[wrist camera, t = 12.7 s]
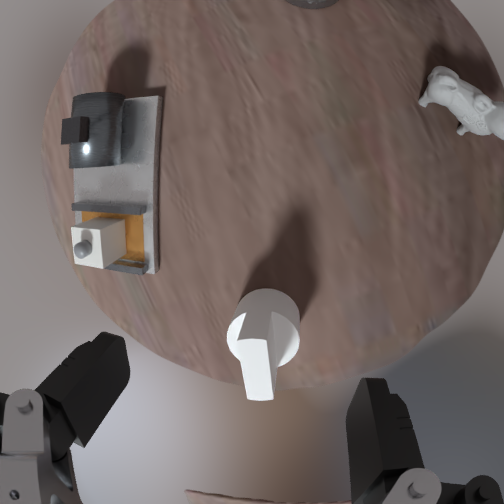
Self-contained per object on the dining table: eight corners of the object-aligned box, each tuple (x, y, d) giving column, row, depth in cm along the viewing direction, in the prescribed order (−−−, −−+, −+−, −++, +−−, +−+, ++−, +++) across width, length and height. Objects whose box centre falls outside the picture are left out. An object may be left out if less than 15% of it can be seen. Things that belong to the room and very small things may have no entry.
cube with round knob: (97, 216, 39) (63, 229, 32) (124, 219, 38) (92, 233, 31) (99, 249, 40) (68, 267, 33) (126, 253, 40) (96, 273, 33)
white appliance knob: (231, 289, 41) (207, 338, 30) (297, 286, 39) (296, 336, 28) (240, 343, 43) (222, 399, 32) (301, 342, 42) (299, 400, 31)
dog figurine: (480, 153, 30) (527, 157, 20) (409, 100, 30) (446, 83, 20) (491, 122, 28) (537, 119, 18) (421, 69, 28) (458, 45, 18)
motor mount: (82, 107, 35) (36, 102, 26) (163, 97, 34) (122, 83, 24) (84, 258, 43) (44, 281, 34) (159, 270, 42) (124, 301, 32)
